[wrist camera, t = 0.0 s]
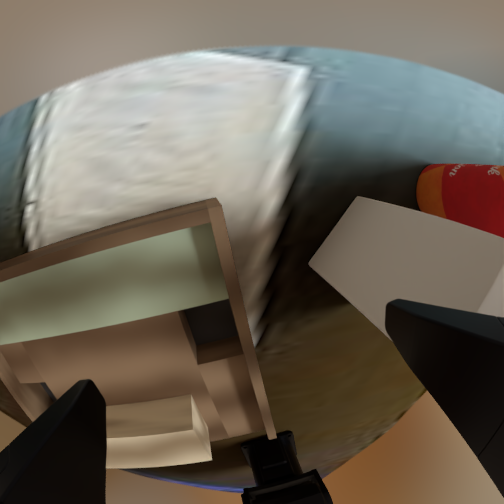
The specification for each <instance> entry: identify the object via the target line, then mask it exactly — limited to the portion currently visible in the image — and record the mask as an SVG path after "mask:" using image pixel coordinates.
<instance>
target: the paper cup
mask: <svg viewBox="0 0 504 504" xmlns="http://www.w3.org/2000/svg"><path fill="white" fill-rule="evenodd" d="M416 198H417V203H418V206H419V208H420V210H421V212H424V213H427V214H431V215H434V216H438V217H441V218H444V219H448V220H451V221H454V222H457V223H461V224H464V225H467V226H470V227H473V228H476V229H479V230H482V231H485V232H488V233H491V234H494V235H496V236H499V237H502V238H504V166H498V165H479V164H432V165H429V166H427V167H425V168H424V169H423V171H422V172H421V174H420V176H419V178H418V181H417V186H416Z"/></svg>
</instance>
